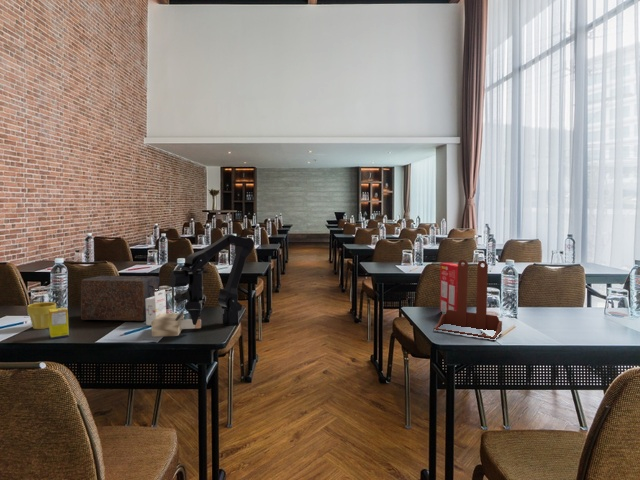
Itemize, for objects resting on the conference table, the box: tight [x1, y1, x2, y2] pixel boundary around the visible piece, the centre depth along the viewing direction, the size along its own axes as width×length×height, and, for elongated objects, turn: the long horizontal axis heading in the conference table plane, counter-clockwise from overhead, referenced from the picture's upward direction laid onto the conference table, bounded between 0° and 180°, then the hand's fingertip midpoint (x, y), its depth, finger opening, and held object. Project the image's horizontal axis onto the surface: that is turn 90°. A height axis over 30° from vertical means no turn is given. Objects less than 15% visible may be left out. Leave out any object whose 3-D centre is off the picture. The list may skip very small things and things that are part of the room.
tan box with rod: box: [151, 310, 185, 338], centre depth 178 cm, size 10×14×7 cm
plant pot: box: [26, 301, 57, 330], centre depth 183 cm, size 10×10×10 cm
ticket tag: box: [181, 318, 202, 330], centre depth 178 cm, size 16×1×4 cm, turn 99°
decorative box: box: [80, 275, 160, 322], centre depth 200 cm, size 31×20×20 cm
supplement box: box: [48, 306, 70, 340], centre depth 169 cm, size 6×6×11 cm
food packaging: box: [439, 262, 464, 313], centre depth 209 cm, size 15×5×25 cm, turn 13°
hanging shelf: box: [433, 259, 503, 339], centre depth 178 cm, size 24×13×30 cm, turn 56°
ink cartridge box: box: [145, 288, 167, 326], centre depth 191 cm, size 9×5×15 cm, turn 168°
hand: (196, 322), depth 179 cm, fingers open, 9 cm apart
